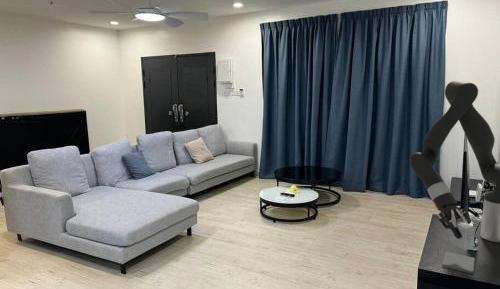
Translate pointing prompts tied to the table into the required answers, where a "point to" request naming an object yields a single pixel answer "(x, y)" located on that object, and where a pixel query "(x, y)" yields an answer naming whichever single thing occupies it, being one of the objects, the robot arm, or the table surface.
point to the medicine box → (463, 236)
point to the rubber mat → (458, 262)
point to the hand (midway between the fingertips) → (465, 236)
